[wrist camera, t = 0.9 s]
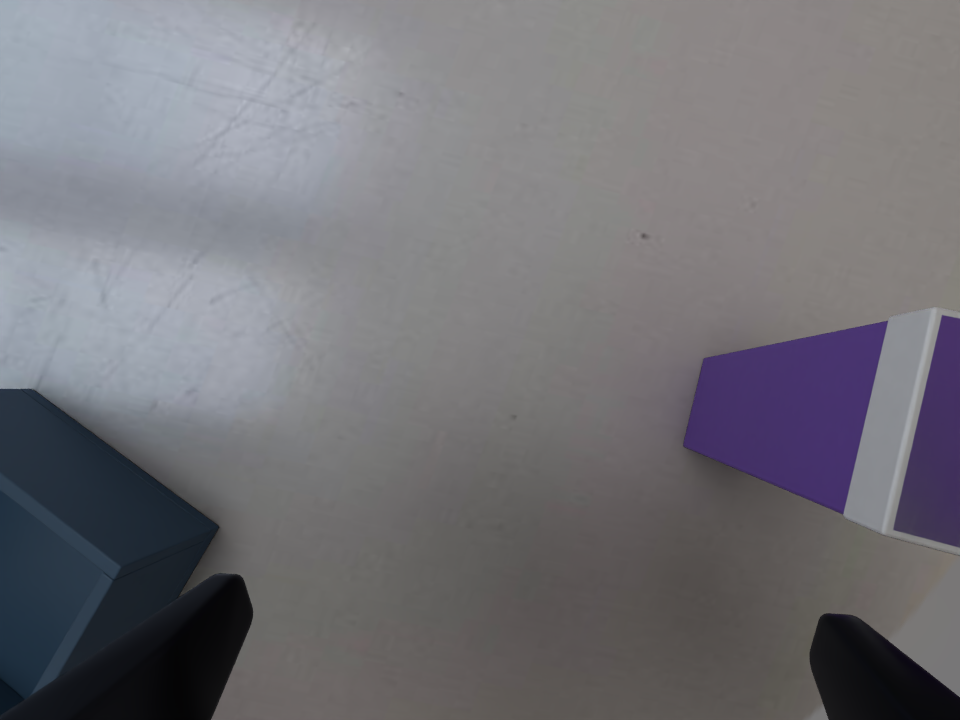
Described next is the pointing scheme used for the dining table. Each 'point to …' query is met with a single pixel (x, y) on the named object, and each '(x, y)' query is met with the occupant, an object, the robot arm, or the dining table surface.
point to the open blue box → (79, 544)
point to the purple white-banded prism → (847, 422)
